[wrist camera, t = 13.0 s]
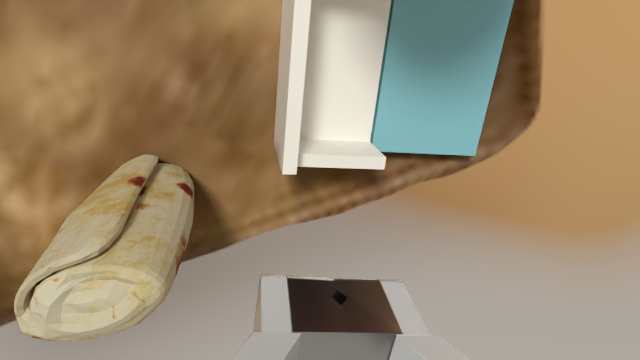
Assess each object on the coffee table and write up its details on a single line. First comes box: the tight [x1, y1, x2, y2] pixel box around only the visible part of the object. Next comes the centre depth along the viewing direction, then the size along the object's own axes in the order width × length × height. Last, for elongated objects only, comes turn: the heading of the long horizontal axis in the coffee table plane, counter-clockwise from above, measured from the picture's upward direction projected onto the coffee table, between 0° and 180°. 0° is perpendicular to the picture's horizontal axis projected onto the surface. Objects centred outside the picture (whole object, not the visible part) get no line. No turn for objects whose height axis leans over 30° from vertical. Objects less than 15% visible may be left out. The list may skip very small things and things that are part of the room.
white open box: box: [274, 0, 391, 175], centre depth 35 cm, size 10×17×9 cm, turn 174°
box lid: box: [370, 0, 514, 156], centre depth 41 cm, size 2×17×12 cm
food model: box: [14, 154, 194, 341], centre depth 32 cm, size 10×7×20 cm
